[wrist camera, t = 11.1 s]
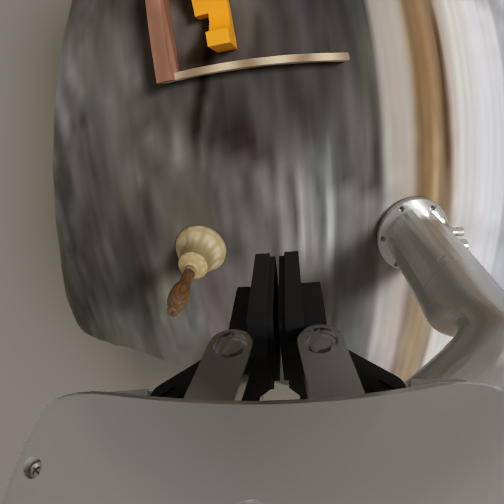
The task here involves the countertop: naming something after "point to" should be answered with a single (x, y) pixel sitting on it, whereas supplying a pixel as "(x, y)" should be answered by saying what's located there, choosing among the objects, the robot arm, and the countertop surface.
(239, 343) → the robot arm
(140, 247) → the countertop surface
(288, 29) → the countertop surface
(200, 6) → the pipe clamp
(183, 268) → the hand bell
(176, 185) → the countertop surface
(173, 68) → the guide channel
